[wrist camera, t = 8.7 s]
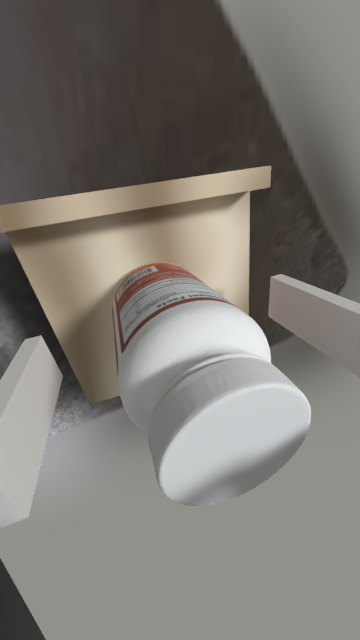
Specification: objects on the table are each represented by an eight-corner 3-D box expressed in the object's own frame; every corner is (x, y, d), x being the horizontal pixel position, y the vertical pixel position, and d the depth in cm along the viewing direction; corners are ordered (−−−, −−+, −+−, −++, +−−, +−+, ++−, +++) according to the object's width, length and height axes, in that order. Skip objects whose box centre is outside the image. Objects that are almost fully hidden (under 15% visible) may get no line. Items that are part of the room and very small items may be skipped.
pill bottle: (184, 347, 18) (275, 505, 8) (103, 337, 15) (103, 543, 6) (211, 272, 16) (375, 370, 6) (122, 247, 13) (168, 345, 4)
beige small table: (93, 359, 23) (88, 426, 16) (30, 208, 16) (-27, 209, 9) (218, 323, 26) (261, 367, 19) (209, 180, 19) (271, 165, 12)
